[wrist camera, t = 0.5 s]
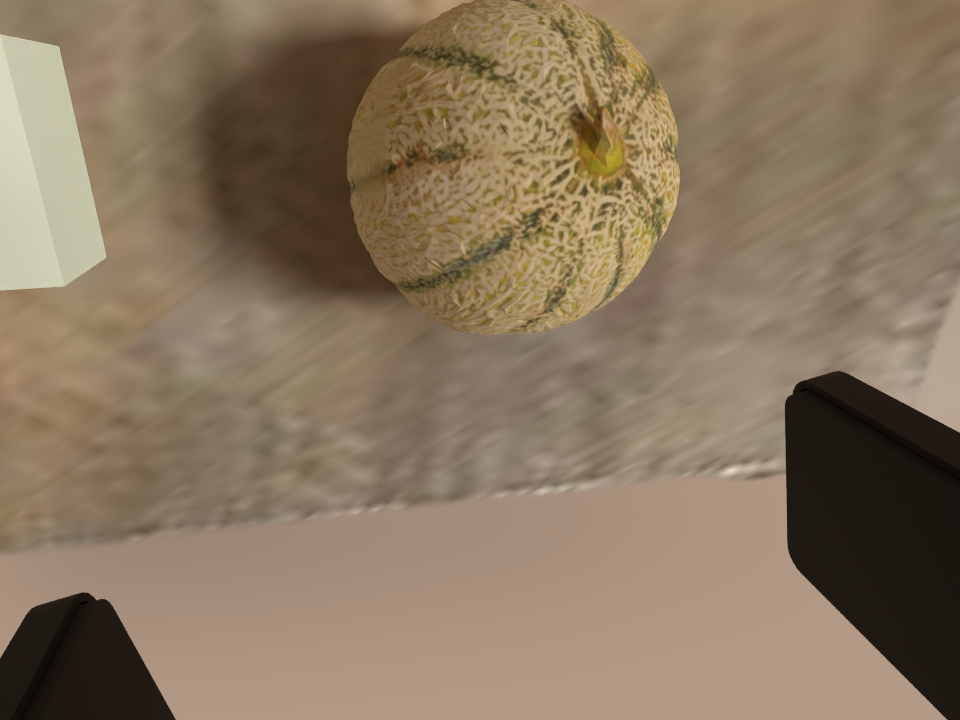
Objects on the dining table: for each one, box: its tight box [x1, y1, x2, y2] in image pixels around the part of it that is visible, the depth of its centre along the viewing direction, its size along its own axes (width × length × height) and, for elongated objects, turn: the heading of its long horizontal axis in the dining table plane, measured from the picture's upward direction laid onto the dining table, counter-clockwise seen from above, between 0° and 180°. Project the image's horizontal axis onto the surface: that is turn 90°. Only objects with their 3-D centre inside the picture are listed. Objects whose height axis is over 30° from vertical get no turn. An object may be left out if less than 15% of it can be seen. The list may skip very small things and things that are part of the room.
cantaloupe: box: [347, 0, 680, 335], centre depth 30 cm, size 15×15×15 cm
